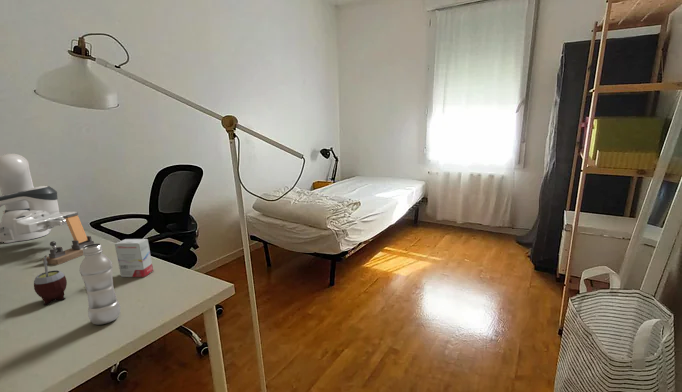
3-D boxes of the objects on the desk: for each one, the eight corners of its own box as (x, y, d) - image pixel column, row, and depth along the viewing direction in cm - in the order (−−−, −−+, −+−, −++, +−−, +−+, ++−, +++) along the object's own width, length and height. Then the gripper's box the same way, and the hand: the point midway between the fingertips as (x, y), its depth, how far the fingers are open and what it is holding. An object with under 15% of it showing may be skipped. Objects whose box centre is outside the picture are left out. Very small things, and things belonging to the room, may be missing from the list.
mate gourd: (53, 294, 100) (42, 246, 97) (78, 293, 99) (68, 245, 96) (29, 307, 92) (16, 256, 89) (57, 306, 92) (45, 255, 89)
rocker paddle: (74, 244, 133) (62, 216, 131) (85, 240, 137) (73, 213, 135) (78, 243, 132) (66, 215, 130) (88, 239, 136) (77, 212, 134)
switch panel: (43, 263, 124) (40, 249, 123) (85, 248, 139) (82, 235, 138) (58, 264, 122) (55, 250, 121) (98, 249, 137) (95, 236, 136)
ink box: (154, 271, 114) (148, 238, 111) (144, 277, 109) (138, 243, 106) (130, 270, 114) (125, 238, 112) (120, 277, 110) (113, 243, 107)
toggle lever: (51, 252, 124) (47, 242, 124) (56, 250, 126) (52, 241, 125) (55, 251, 124) (51, 241, 123) (60, 249, 125) (56, 240, 125)
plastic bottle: (100, 314, 87) (85, 242, 83) (127, 312, 88) (114, 240, 84) (84, 329, 81) (67, 251, 77) (113, 327, 81) (98, 249, 77)
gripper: (64, 221, 148) (89, 222, 145) (10, 236, 128) (38, 237, 125) (62, 207, 147) (87, 208, 143) (7, 220, 127) (34, 221, 124)
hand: (64, 222), depth 134 cm, fingers closed
